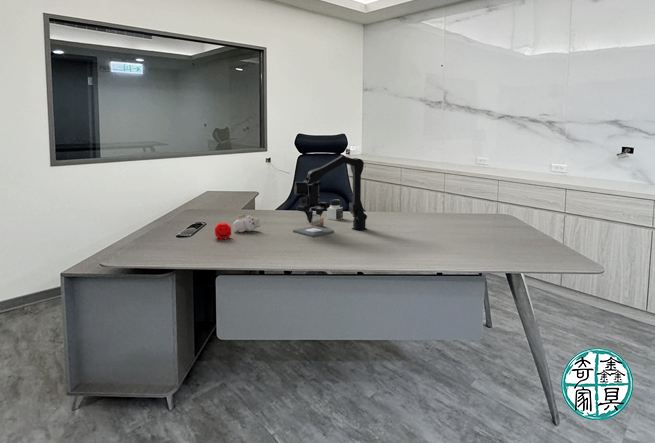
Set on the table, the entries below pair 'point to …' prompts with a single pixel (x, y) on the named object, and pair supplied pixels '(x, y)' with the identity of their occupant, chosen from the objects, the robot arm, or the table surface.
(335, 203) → the medicine bottle
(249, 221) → the cat figurine
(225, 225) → the ball
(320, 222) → the terracotta block
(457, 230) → the table surface
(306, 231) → the blue-grey square plate
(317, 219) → the off-white block
